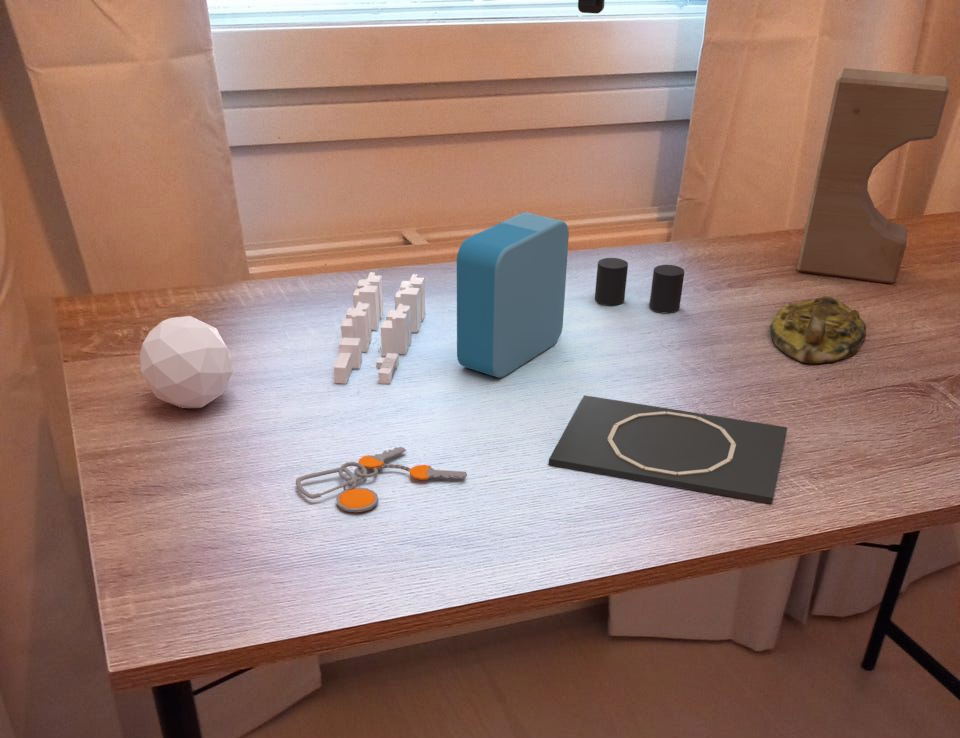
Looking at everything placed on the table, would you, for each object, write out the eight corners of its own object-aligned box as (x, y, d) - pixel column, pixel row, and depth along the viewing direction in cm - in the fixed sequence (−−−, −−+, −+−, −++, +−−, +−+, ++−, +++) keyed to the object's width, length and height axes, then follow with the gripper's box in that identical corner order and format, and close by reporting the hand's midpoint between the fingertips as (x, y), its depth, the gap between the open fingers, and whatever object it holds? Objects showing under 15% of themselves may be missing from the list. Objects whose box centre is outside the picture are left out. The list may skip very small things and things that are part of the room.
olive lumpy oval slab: (776, 311, 111) (761, 367, 100) (780, 268, 108) (765, 319, 97) (867, 313, 108) (862, 370, 97) (873, 269, 105) (869, 322, 94)
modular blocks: (362, 308, 108) (359, 271, 105) (426, 311, 107) (425, 273, 105) (325, 394, 93) (321, 353, 90) (400, 397, 92) (398, 356, 90)
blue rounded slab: (525, 329, 104) (530, 207, 96) (562, 340, 102) (571, 216, 94) (455, 371, 97) (455, 242, 89) (495, 383, 95) (497, 253, 87)
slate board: (786, 433, 88) (787, 426, 88) (771, 504, 79) (773, 496, 79) (583, 401, 92) (584, 393, 92) (548, 465, 83) (548, 457, 83)
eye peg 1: (626, 296, 111) (630, 259, 109) (620, 307, 109) (624, 270, 106) (598, 292, 112) (601, 256, 109) (591, 303, 110) (594, 266, 107)
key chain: (322, 523, 76) (321, 514, 76) (287, 478, 81) (286, 469, 81) (472, 481, 81) (472, 472, 80) (430, 441, 86) (430, 432, 85)
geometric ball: (193, 441, 91) (140, 397, 84) (161, 379, 94) (107, 331, 87) (262, 392, 91) (214, 344, 83) (227, 331, 94) (179, 280, 86)
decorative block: (897, 268, 119) (950, 76, 106) (895, 285, 114) (949, 87, 102) (800, 255, 121) (840, 66, 109) (794, 272, 117) (835, 77, 104)
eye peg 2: (681, 303, 110) (687, 266, 107) (676, 315, 107) (681, 277, 105) (652, 299, 111) (656, 262, 108) (646, 310, 108) (651, 273, 106)
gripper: (646, -229, 77) (625, 20, 87) (678, -226, 87) (656, -4, 97) (550, -229, 78) (541, 15, 89) (593, -227, 89) (580, -8, 99)
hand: (601, 5), depth 93 cm, fingers open, 8 cm apart
